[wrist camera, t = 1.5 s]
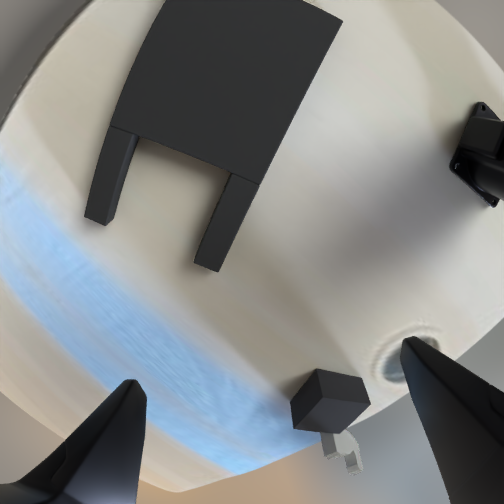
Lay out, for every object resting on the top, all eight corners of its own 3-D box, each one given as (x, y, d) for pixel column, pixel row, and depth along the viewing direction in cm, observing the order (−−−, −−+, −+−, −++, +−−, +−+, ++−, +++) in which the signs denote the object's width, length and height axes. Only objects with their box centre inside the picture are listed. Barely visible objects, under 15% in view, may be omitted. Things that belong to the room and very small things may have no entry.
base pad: (337, 26, 15) (343, 20, 14) (220, 262, 22) (218, 273, 20) (192, -29, 13) (188, -38, 12) (92, 210, 20) (83, 217, 18)
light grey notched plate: (327, 409, 30) (358, 439, 33) (316, 414, 30) (348, 443, 34) (337, 452, 25) (366, 474, 28) (324, 457, 25) (356, 478, 28)
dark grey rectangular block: (361, 377, 27) (371, 404, 24) (333, 408, 30) (339, 434, 26) (316, 368, 27) (322, 397, 23) (289, 401, 29) (293, 429, 25)
